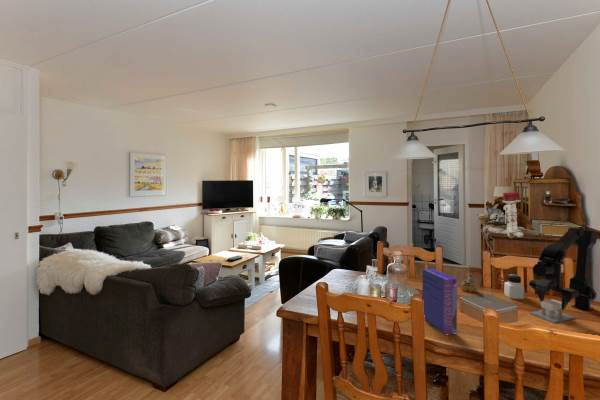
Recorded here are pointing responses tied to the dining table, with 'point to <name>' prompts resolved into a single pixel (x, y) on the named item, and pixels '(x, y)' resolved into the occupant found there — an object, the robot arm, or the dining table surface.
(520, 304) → the dining table surface
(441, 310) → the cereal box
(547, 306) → the stool
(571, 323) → the dining table surface
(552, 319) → the tile
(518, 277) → the medicine bottle
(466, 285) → the ornament
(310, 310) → the dining table surface
